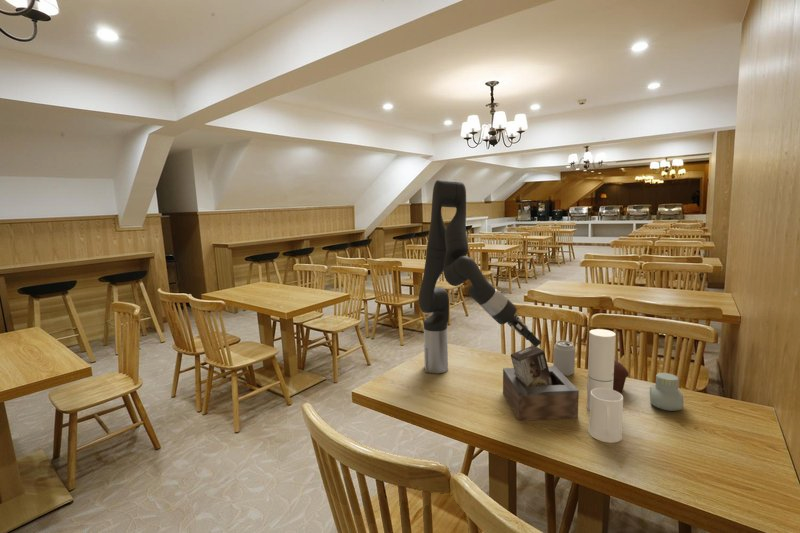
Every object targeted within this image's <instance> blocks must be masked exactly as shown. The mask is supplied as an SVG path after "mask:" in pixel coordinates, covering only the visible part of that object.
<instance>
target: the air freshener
mask: <svg viewBox="0 0 800 533" xmlns="http://www.w3.org/2000/svg"><path fill="white" fill-rule="evenodd" d="M679 380H680V379H679V377H678V376H677V375H675V374H672V373H668V372H659V373H657V374H656V375H655V384H653V385H651V386H650V387H649V402H650V404H651V405H652V406H654V407H656V408H658V409H660V410H663V411H671V412H672V411H673V412H674V411H680V410H682V409H684V406H685V405H684V404H685V403H684V394H683V392H682V391H681V390H679Z"/></svg>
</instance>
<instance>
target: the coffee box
mask: <svg viewBox="0 0 800 533" xmlns="http://www.w3.org/2000/svg"><path fill="white" fill-rule="evenodd" d="M510 359H511V362H512V365H513V367H512V368H514V371H515V375H516V377H517V378H518V380H519V381H520V383H521V384H522V386H523V387H524V386H548V385H552V381H551V377H550V373H549V369H548V366H549V365H548V361H547V356H546V353H545V350H544V349H541V348H540V347H539V346H537V347H535V346H534V345H531V346H528V347H525V348H524V349H521V350H519V351H516V352H514V353H511V354H510Z"/></svg>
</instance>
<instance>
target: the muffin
mask: <svg viewBox="0 0 800 533" xmlns="http://www.w3.org/2000/svg"><path fill="white" fill-rule="evenodd" d="M629 373H630V372H629V371H628V369H627V368H626V367H625V366H624V365H623V364H622V363H621V362H619V361H618V360H615V359H614V378H613V390H615V391H617V392H619V393H620V394H623V391H624V387H625V383H626V379H627V377H629V376H630V374H629Z"/></svg>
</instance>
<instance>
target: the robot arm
mask: <svg viewBox="0 0 800 533" xmlns="http://www.w3.org/2000/svg"><path fill="white" fill-rule="evenodd" d="M433 184H434V185H433V189H432V199H431V212H430V214H431V216H430V226H429V232H428V238H427V244H426V253H425V262H424V263H425V264H424V270H423V276H422V279H421V280H422V281H421V284H420V290H419V294H418V306H419V309H420V311H421V312H422V313H425V314H430V313H432V314H431V315H430V316H429V317H428V318H426V319H425V320H424V321H423V340H424V342H423V353H424V354H423V356H424V359H423V360H424V371H425V373H430V374H443V373H446V372H448V371H449V359H448V358H449V357H448V356H449V352H448V351H449V350H448V348H449V347H448V323H449V317H450V316H449V314H450V299H449V298H450V297H449V294H448V293H449V292H448V291H447V289H445V288H444V287H441V286H439V287H436V285H437V283H438V280H439V278H440V276H442V273H443V276H444V279H445V281H446V282H447V283H448V284H449V285H451V286H453V287H458V286H460V285H462V284H464V283H466V282H467V281H468V280H469V281H470V283H471V284H470V286H469V287H468V290H467V292H468V293H467V294H468V295H469V296H470V297H471V298H472V299H473V300H474V301H475V302H476V303H477V304H478V305H479V306H480V307H481V308H482V309H483V310H484V311H485V312H486V314H488V315H489V316H490V317H491V318H492V319H493V320H494V321H495V322H496V323H497V324H498V325H505V324H507V325H508V326H509V327H510V328H511V329H512V330H514V331H515V332H516V333H517V334H518V335H520V336H522V337H524V339H525V340H526V341H528V342H530V343H531V345H532V346H535V347H539V345H541V343H542V342H541V341H540V339H538V337H536V336H535V335H534V333H533V331H531V330H529V327H528V326H527V325H526V324H525V322H523V320H522V319H521V318H520V317H519V316H518V315H517V314H516V313H517V310H518V309H517V307H516V305H515V304H514V303H512V301H511V300H509V298H507V297H506V296H505V295H504V294H503V293H502V292H501V291H499V289H496V287H495V286H493V285H492V284H491V283H490V282H489V281H488V280H487V278H486V277H485V276H484V273H482V271H481V269H480V268H479V265H478V264H477V263H476V262H475V260H474V259H473V258H471V257H469V256H467V254H468V253H469V243H468V242H469V241H468V236H467V225H466V224H467V189H466V185H465V183H464V182H463V181H459V180H451V179H450V180H449V179H437V180H436V181H435V183H433ZM442 208H456V209H455V214H454V216H453V218H452V219H451V220H450V222H449V223H448V225H447V227H446V224H445V222H444V219H443V216H442Z"/></svg>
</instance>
